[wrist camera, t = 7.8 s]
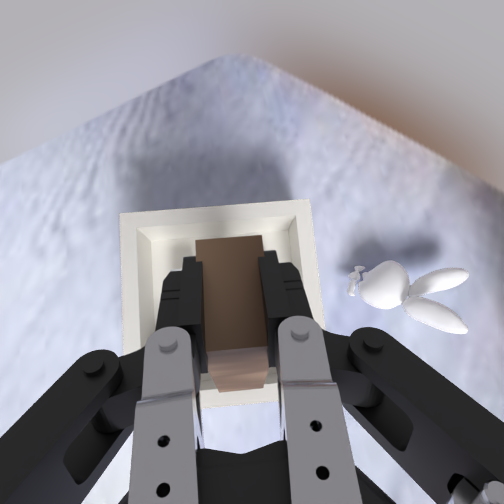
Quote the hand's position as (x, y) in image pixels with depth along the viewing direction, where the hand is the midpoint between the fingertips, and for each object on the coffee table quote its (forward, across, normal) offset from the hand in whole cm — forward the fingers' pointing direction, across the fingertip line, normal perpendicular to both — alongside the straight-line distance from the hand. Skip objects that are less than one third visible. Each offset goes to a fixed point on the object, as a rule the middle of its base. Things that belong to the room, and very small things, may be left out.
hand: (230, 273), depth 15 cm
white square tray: (+9, +1, +10) cm, 14 cm away
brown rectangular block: (+3, 0, +8) cm, 9 cm away
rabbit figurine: (+9, -12, +11) cm, 19 cm away
